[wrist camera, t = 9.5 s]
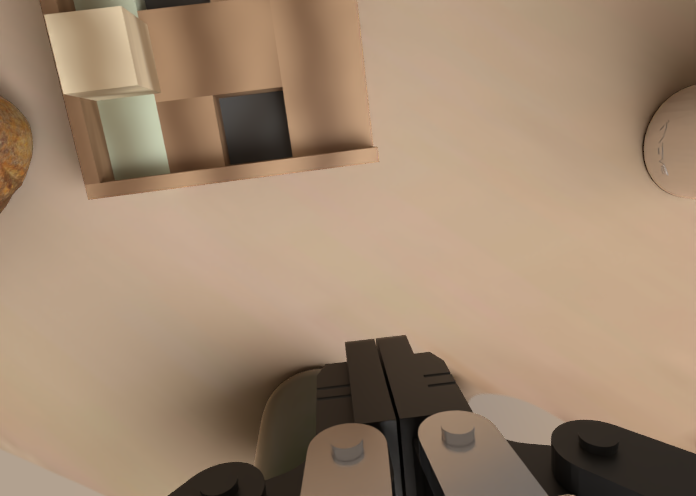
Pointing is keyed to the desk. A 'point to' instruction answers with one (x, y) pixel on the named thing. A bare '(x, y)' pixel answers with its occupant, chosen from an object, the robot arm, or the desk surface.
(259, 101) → the tray
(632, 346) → the desk surface
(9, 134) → the rough brown rock
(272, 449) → the dark green wine bottle
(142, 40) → the birch block
